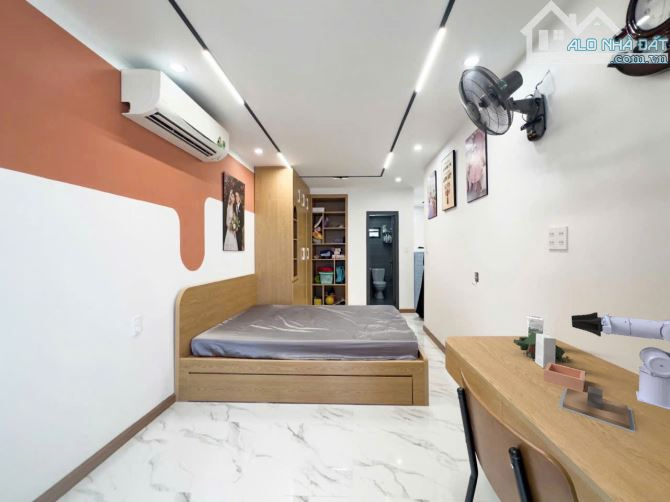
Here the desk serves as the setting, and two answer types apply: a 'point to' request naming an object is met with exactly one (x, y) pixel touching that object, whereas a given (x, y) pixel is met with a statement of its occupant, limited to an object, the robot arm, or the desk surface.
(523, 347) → the green toy dinosaur
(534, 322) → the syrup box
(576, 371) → the pink open box
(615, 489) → the desk surface
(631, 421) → the rubber mat
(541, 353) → the skincare box
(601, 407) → the walnut lid
